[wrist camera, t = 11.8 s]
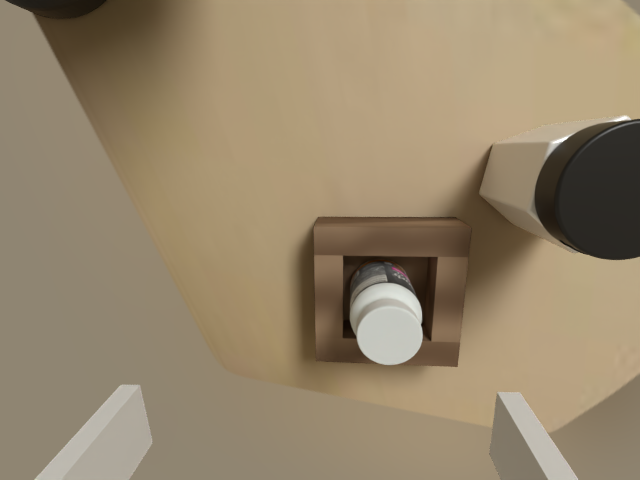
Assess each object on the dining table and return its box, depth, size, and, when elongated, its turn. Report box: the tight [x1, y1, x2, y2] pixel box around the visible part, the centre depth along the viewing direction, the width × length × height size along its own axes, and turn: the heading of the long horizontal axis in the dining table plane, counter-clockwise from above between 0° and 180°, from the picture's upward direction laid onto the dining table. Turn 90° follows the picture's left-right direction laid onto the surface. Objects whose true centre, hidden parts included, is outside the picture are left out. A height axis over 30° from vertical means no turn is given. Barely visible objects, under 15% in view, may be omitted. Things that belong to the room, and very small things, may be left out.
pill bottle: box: [350, 259, 423, 365], centre depth 29 cm, size 6×6×10 cm
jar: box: [479, 115, 640, 260], centre depth 26 cm, size 9×8×12 cm
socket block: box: [314, 217, 472, 367], centre depth 33 cm, size 13×13×4 cm
